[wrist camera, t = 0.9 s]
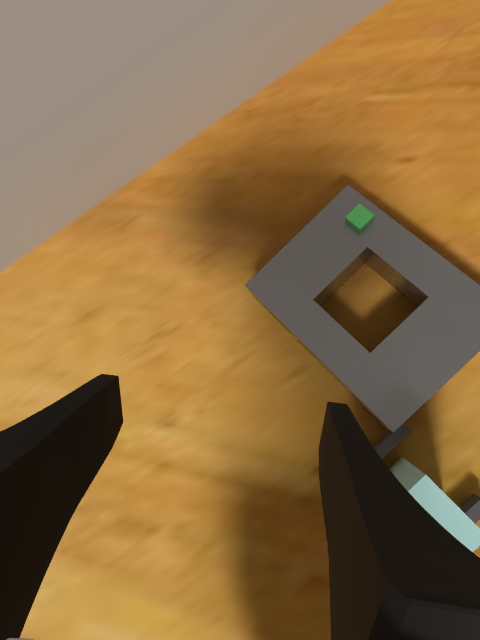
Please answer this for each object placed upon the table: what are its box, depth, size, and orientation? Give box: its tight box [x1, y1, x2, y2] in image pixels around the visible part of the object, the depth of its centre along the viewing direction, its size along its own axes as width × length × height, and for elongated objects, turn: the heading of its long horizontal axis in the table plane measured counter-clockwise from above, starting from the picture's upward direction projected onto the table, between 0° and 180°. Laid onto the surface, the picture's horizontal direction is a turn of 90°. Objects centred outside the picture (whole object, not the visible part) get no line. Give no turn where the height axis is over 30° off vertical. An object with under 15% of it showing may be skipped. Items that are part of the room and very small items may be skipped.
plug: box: [389, 457, 480, 552], centre depth 19 cm, size 3×3×7 cm
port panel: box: [245, 185, 480, 433], centre depth 24 cm, size 12×9×3 cm
